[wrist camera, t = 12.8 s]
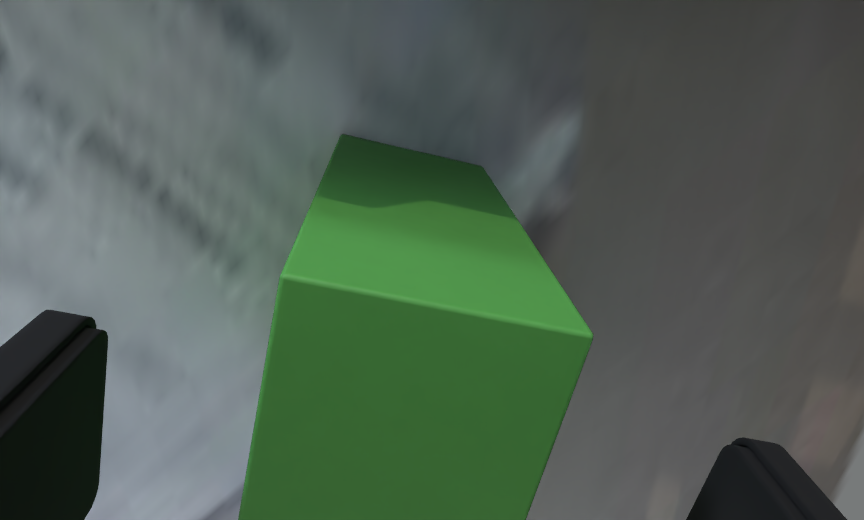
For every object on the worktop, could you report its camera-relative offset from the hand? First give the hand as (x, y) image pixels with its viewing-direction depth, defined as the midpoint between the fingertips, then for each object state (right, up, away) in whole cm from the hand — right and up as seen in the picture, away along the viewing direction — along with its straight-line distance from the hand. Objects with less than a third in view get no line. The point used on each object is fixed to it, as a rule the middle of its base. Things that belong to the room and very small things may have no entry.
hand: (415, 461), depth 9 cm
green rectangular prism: (-1, +3, +9) cm, 9 cm away
